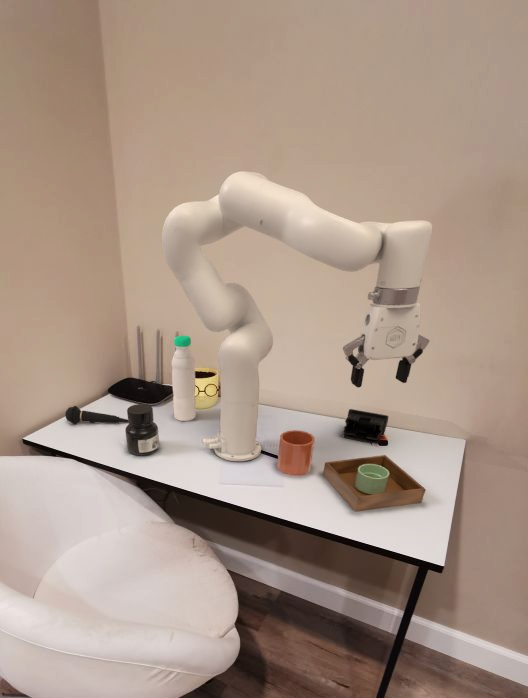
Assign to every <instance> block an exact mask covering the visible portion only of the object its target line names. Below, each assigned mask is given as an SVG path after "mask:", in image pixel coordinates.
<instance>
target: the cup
mask: <svg viewBox="0 0 528 698" xmlns="http://www.w3.org/2000/svg"><path fill="white" fill-rule="evenodd" d="M315 442H316V438H315V436H314V435H313V434H311V433H309V432H308V431H304V430H297V429H295V430H287V431H283V432H282V433H281V434H280V435H279V442H278V444H279V445H278V453H277V464H276V467H277V469H278V471H279V472H281V473H283V474H285V475H288V476H295V477H300V476H304V475H307V474H309V472H310V471H311V468H312V462H313V457H314V456H313V455H314V448H315Z"/></svg>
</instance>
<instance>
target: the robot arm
mask: <svg viewBox="0 0 528 698" xmlns="http://www.w3.org/2000/svg"><path fill="white" fill-rule="evenodd" d="M245 227H246V228H248V229H251V230H253V231H256V232H258V233H261V234H263V235H265V236H268V237H271V238H272V239H276V240H278V241H280V242H282V243H284V245H286V246H288V247H290V248H292V249H294V250H296V251H297V252H299V253H300V254H303V255H305V256H306V257H309V258H311V259H313V260H315V261H317V262H319V263H322V264H324V265H326V266H329V267H331V268H334V269H337V270H340V271H342V272H350V273H352V272H359V271H361V270H363V269H365V268H366V267H368V266H371V265H373V264H379V265H378V272H377V277H376V283H375V287H374V288H373V289H374V290H373V291H370V292H368V293H367V300H369V301H372V303H370V304H369V306H368V308H367V310H366V313H365V315H364V318H363V323H362V326H361V329H360V333H359V337H357V338H355V339H354V340H352V341H350V342H348V343H346V344H345V345H343V347H342V351H343V353H344V356H345V359H346V360H347V361H348V362H349V364H350V365H351V366H352V369H351V374H350V382H351V384H352V385H353V386H355V388H357V389H358V388H361V387H362V385H363V381H364V379H363V378H364V374H365V369H364V368H363V367H364V366H365V365H366V364H367V362H368V361H369V360H370V361H380V360H381V361H382V360H390V359H399V361H398V364H397V369H396V374H395V379H396V380H397V381H399V382H400V383H402V384H406V383H407V382H408V378H409V376H410V372H411V368H412V364H413V365H414V364H415V363H416V360H417V359H418V358H419V357H420V356H421V355H422V354H423V352H424V350H425V349H426V348H427V346H428V345H429V343H430V339H428V338H427V337H425V336H423V335H421V334H420V327H421V314H422V313H421V312H422V310H421V303H420V302H418V297H419V293H420V288H421V284H422V279H423V275H424V271H425V266H426V262H427V258H428V253H429V248H430V245H431V239H432V235H433V224H432V223H431V222H430V221H429V220H422V219H421V220H404V221H396V222H378V221H362V222H356V221H353V220H350V219H347V218H345V217H342V216H339V215H338V214H335V213H332V212H330V211H327V209H324V208H322V207H320V206H318V205H316V203H314V202H313V201H312V200H311V198H309V196H307V195H306V194H305V193H304V192H301V191H298V190H296V189H292V188H291V187H287V186H284V185H281V184H279V183H277V182H276V183H275V182H274V181H270V180H269V178H267V177H266V176H265V175H263V174H262V173H261V172H260V173H259V172H256V171H255V172H253V171H237V172H233V173H231V174H230V175H229V176H228V177H226V179H225V180H224V181H223V182H222V185H221V186H220V188H219V192H218V194H217V195H215V196H213V197H212V198H210V199H208V200H204V201H203V200H202V201H199V200H198V201H187V202H183V203H180V204H178V205H176V206H175V207H174V208H172V209H171V210H170V212H169V213H168V215H167V216H166V217H165V220H164V223H163V226H162V229H161V230H162V231H161V239H160V240H161V250H162V254H163V258H164V261H165V262H166V265H167V266H168V268H169V270H170V271H171V273H172V274H173V276H174V277H175V279H176V280H177V282H178V283H179V285H180V286H181V288H182V290H183V292H184V293H185V295H186V297H187V299H188V301H189V302H190V304H191V305H192V307H193V309H194V311H195V312H196V314H197V316H198V317H199V319H200V320H201V323H202V324H203V325H204V327H205V328H206V329H207V330H208V331H211V332H213V333H220V332H224V331H226V330H228V333H229V334H228V335H227V336H226V337H225V339H223V341H222V342H221V344H220V346H219V349H218V354H217V357H218V358H217V359H218V360H217V361H218V368H219V375H220V377H219V378H220V414H219V416H220V417H219V418H220V421H219V422H220V423H219V424H220V425H219V432H217V433H216V436H213V437H212V438H202V440H201V441H202V446H203V447H208V449H209V450H213V451H214V453H215V455H217V456H218V457H219V458H221V459H222V460H226V461H231V462H247V461H251V460H254V459H256V458H257V457H259V456H261V455H260V454H261V453H262V445H261V443H260V442H258V441H257V433H258V431H257V430H258V417H259V415H258V414H259V404H260V403H259V402H260V375H259V365H260V363H261V362H262V361H263V360H264V359H265V358H266V357H267V356H268V355H269V354H270V352H271V351H272V349H273V345H274V336H273V332H272V330H271V328H270V326H269V324H268V322H267V321H266V319H265V317H264V315H263V313H262V312H261V310H260V308H259V306H258V305H257V303H256V301H255V299H254V298H253V296H252V294H251V293H250V291H249V290H247V288H245V287H244V286H243V285H241V284H239V283H237V282H227V283H225V282H224V280H223V278H222V277H221V276H220V274H219V273H218V271H217V269H216V266H215V265H214V264H213V262H212V261H211V260H210V259H209V258H208V257H207V256H206V254H205V253H204V252H203V250H202V249H201V246H206V245H211V244H213V243H216V242H219V241H220V240H222V239H224V238H226V237H228V236H229V235H231V234H233V233H235V232H237V231H239V230H241V229H243V228H245ZM356 349H357V352H358V353H356V355H354V350H356ZM400 358H401V359H400Z"/></svg>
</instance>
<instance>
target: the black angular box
mask: <svg viewBox="0 0 528 698" xmlns="http://www.w3.org/2000/svg"><path fill="white" fill-rule="evenodd" d="M344 422H345V426H344V427H343V433H344V434H343V437H342V438H344V439H349V440H353V441H357V442H363V443H367V444H375V445H377V444H379V442H380V440H381V438H383V437H384V435H385V432H386V429H387V426H388V422H389V415H387V414H382V413H375V412H370V411H365V410H364V411H363V410H359V409H354V408H350V409H349V410H348V413H347V416H346V418H345V421H344ZM381 435H383V436H381Z"/></svg>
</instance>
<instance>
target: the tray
mask: <svg viewBox="0 0 528 698" xmlns="http://www.w3.org/2000/svg"><path fill="white" fill-rule="evenodd" d="M363 464H376V465H379V466H382V467H384V468H386V469H387V470H388V471H389V478H388V482H387V485H386V489H385V491H384V492H383V493H381V494H373V495H370V494H366V493H363V492H361V491H359V490H358V489H357V488H356V487H355V479H356V475H357V470H358V468H359V466H361V465H363ZM322 475H323V477H324V478H325V479H326V480H327V481H328V482H329V484H330V485H331V486H332V487H333V489H334V490H335V491H336V492H337V493H338V495H340V496H341V498H342V499H343V500H344V501H345V502H346V503H347V504H348V506H349V507H350V508H351V509H352V511H353V512H355V513H357V512H363V511H372V510H380V509H386V508H387V509H388V508H394V507H402V506H410V505H417V504H422V502H423V500H424V496H425V494H426V488H425V487H424V486H422V485H421V484H420V483H419V482H418V481H416V479H414V478H413V477H412V476H411V475H409V473H408V472H406V471H405V470H404V469H402V468H401V467H400V466H399V465H398V464H397V463H396V462H394V461H393V460H392V459H390V457H388V456H387V455H386V454H383V455H374V456H366V457H365V456H364V457H358V458H350V459H349V458H348V459H341V460H340V459H339V460H333V461H325V462H324V468H323V473H322Z"/></svg>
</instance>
